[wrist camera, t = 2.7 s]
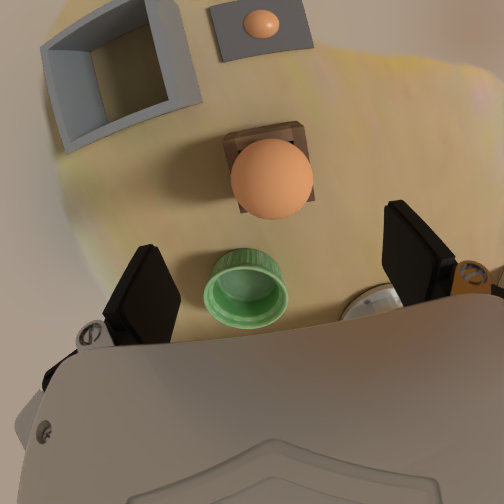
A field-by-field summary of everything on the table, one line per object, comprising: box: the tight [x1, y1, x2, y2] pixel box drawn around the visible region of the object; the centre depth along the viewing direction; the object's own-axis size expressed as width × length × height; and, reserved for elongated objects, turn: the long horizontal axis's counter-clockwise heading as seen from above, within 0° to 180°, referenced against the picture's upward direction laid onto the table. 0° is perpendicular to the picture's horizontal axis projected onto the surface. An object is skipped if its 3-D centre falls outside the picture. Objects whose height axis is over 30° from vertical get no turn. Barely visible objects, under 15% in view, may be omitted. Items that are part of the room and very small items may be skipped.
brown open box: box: [222, 121, 315, 213], centre depth 23 cm, size 6×6×4 cm
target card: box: [209, 0, 314, 62], centre depth 18 cm, size 8×6×1 cm
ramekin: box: [203, 249, 288, 329], centre depth 31 cm, size 9×9×4 cm
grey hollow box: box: [40, 0, 203, 155], centre depth 17 cm, size 11×11×7 cm
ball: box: [231, 139, 313, 220], centre depth 20 cm, size 6×6×6 cm
